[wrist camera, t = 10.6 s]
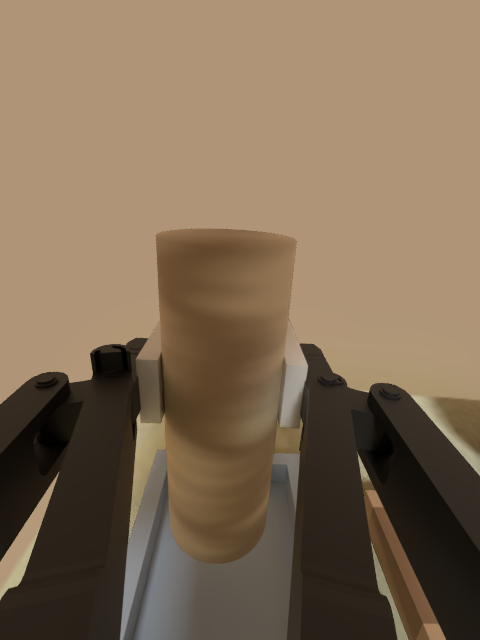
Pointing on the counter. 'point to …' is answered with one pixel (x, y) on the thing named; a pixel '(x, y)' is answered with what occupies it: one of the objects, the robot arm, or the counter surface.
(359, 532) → the robot arm
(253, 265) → the dowel
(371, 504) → the socket block
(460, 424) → the counter surface
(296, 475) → the tray
